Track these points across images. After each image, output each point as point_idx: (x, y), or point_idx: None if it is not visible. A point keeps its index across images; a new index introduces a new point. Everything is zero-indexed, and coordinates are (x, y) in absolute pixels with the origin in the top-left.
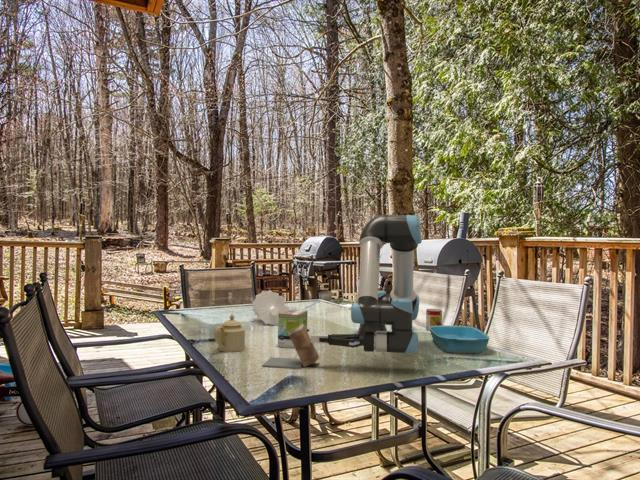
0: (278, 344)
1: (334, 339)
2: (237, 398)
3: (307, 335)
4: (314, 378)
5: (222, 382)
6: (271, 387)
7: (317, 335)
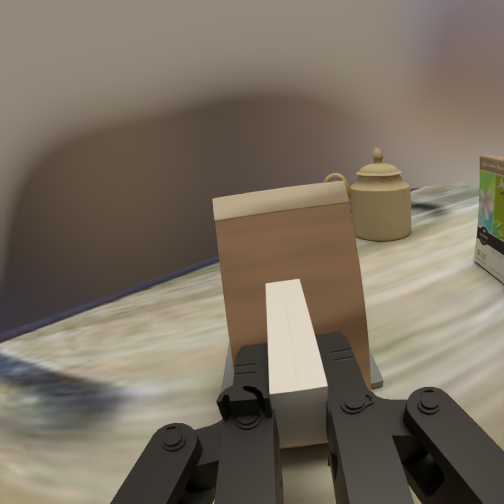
0: (475, 255)
1: (130, 488)
2: (13, 333)
3: (323, 272)
4: (71, 466)
5: (105, 299)
6: (37, 366)
7: (273, 313)
